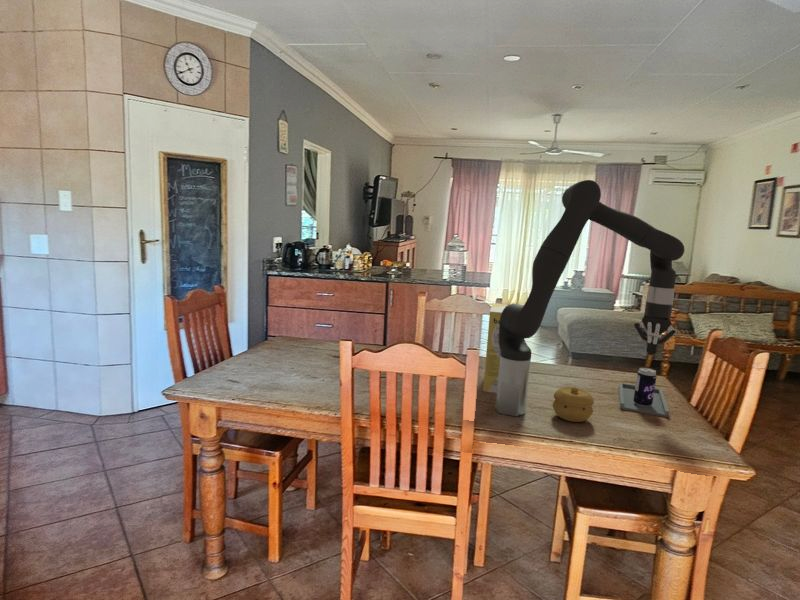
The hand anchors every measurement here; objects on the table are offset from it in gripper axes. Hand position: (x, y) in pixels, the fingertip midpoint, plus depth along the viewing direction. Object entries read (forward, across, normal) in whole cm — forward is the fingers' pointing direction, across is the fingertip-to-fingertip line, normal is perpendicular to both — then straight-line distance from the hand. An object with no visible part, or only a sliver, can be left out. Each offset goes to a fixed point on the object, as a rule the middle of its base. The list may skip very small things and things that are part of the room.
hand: (651, 354), depth 161 cm
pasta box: (+19, -43, -18) cm, 51 cm away
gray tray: (+19, -4, +8) cm, 21 cm away
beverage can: (+18, -1, +3) cm, 18 cm away
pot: (+19, -12, -26) cm, 35 cm away
